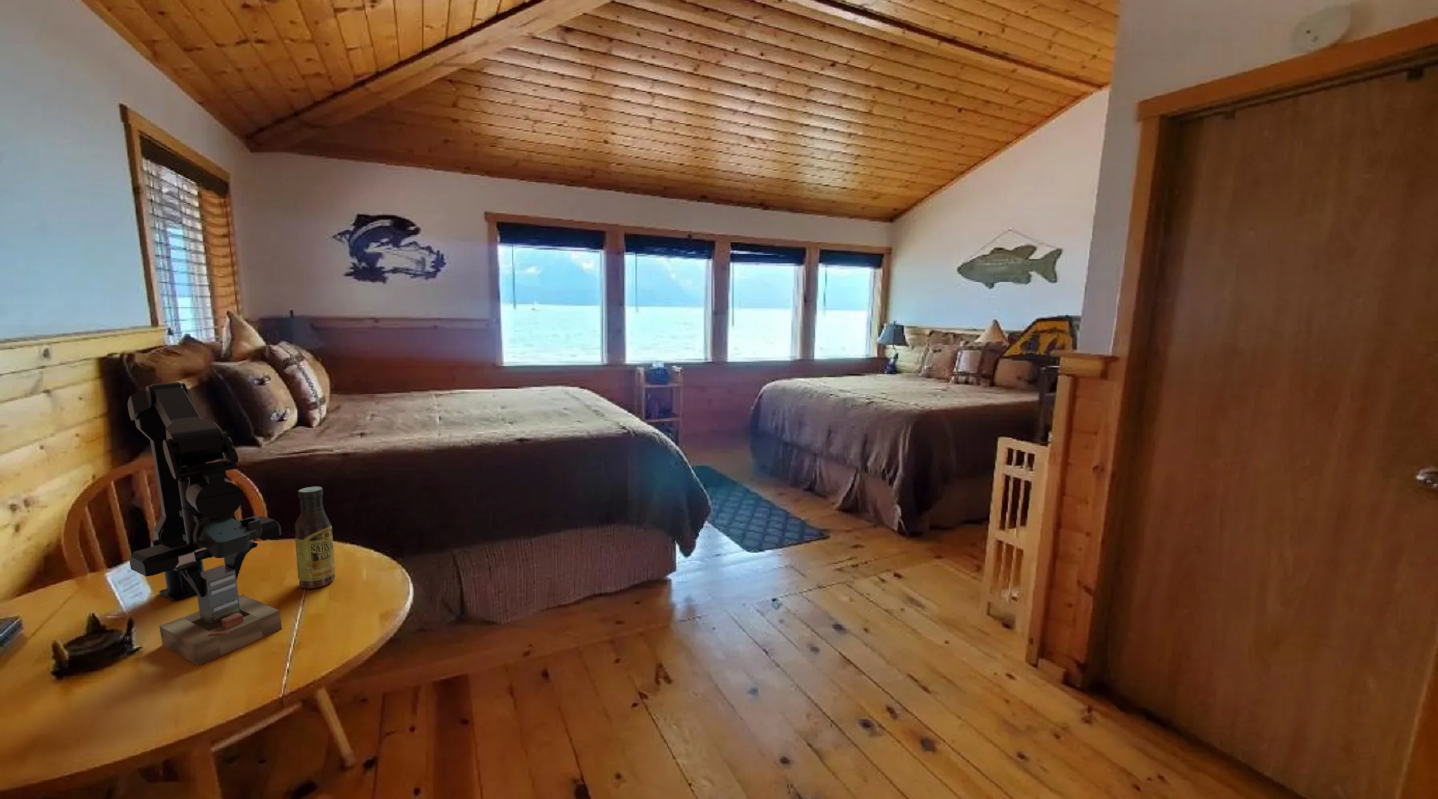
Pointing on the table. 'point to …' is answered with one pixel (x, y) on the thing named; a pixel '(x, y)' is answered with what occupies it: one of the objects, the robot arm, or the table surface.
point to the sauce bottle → (313, 541)
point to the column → (218, 594)
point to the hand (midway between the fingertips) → (217, 591)
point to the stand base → (220, 631)
